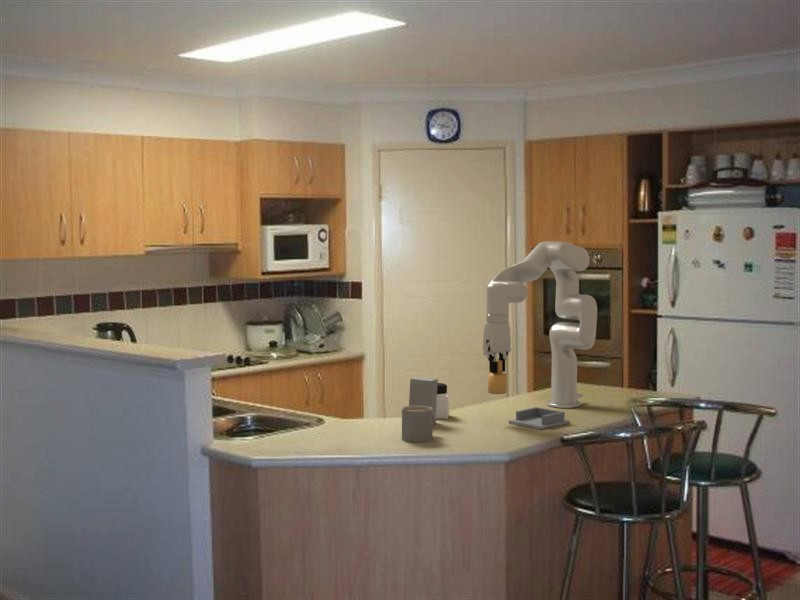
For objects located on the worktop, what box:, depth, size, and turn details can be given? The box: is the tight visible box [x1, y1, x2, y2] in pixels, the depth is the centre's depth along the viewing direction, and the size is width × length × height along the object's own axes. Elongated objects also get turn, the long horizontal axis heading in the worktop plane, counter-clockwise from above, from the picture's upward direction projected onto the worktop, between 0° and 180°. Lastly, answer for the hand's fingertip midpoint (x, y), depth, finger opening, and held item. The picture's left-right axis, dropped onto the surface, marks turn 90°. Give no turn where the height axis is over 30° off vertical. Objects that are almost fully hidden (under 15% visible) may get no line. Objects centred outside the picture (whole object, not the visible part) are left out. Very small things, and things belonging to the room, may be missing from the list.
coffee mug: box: [401, 405, 436, 443], centre depth 324 cm, size 13×10×10 cm
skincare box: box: [408, 376, 439, 423], centre depth 347 cm, size 8×7×16 cm
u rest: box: [508, 406, 570, 430], centre depth 347 cm, size 16×14×4 cm
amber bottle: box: [487, 359, 508, 395], centre depth 346 cm, size 6×6×11 cm
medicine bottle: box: [436, 382, 450, 420], centre depth 358 cm, size 7×7×12 cm
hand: (497, 371), depth 345 cm, fingers closed on amber bottle, 3 cm apart
